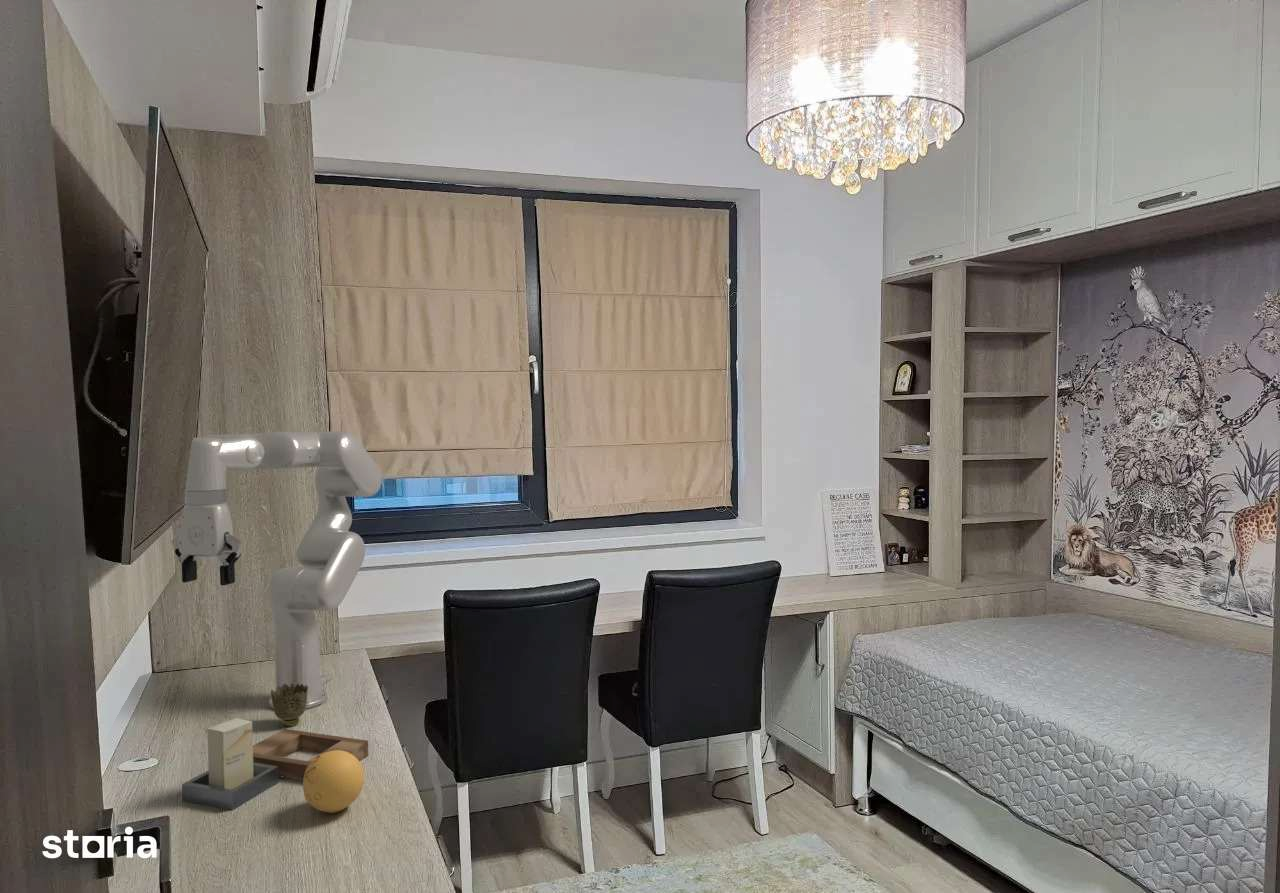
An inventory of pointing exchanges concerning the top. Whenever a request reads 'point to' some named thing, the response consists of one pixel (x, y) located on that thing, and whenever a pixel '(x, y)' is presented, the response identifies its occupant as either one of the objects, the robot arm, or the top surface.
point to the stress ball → (333, 781)
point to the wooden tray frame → (293, 740)
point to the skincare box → (230, 753)
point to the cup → (289, 703)
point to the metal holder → (227, 798)
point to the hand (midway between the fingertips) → (208, 582)
